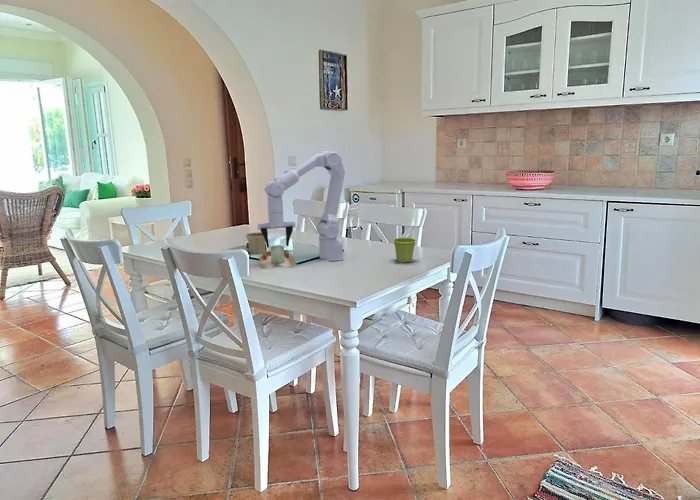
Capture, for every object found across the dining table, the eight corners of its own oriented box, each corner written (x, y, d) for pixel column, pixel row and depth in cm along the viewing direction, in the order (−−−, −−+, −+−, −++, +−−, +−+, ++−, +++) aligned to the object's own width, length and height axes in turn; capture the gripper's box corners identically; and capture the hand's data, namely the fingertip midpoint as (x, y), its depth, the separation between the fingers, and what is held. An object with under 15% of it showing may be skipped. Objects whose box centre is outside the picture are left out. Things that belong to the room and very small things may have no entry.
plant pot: (419, 259, 210) (419, 238, 208) (412, 264, 202) (412, 243, 200) (397, 257, 214) (397, 237, 212) (389, 262, 206) (389, 241, 204)
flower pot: (272, 254, 224) (271, 234, 223) (252, 257, 219) (250, 237, 217) (263, 250, 232) (261, 231, 230) (243, 253, 227) (242, 234, 225)
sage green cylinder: (284, 260, 208) (283, 244, 207) (285, 265, 201) (284, 249, 199) (271, 261, 207) (270, 245, 206) (272, 266, 200) (271, 249, 198)
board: (291, 255, 222) (291, 249, 221) (297, 267, 201) (297, 261, 200) (258, 257, 219) (258, 251, 218) (261, 270, 198) (260, 263, 198)
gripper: (293, 209, 205) (294, 243, 208) (256, 211, 202) (258, 245, 205) (295, 212, 199) (296, 246, 202) (257, 214, 196) (259, 249, 199)
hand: (277, 246), depth 203 cm, fingers open, 7 cm apart
